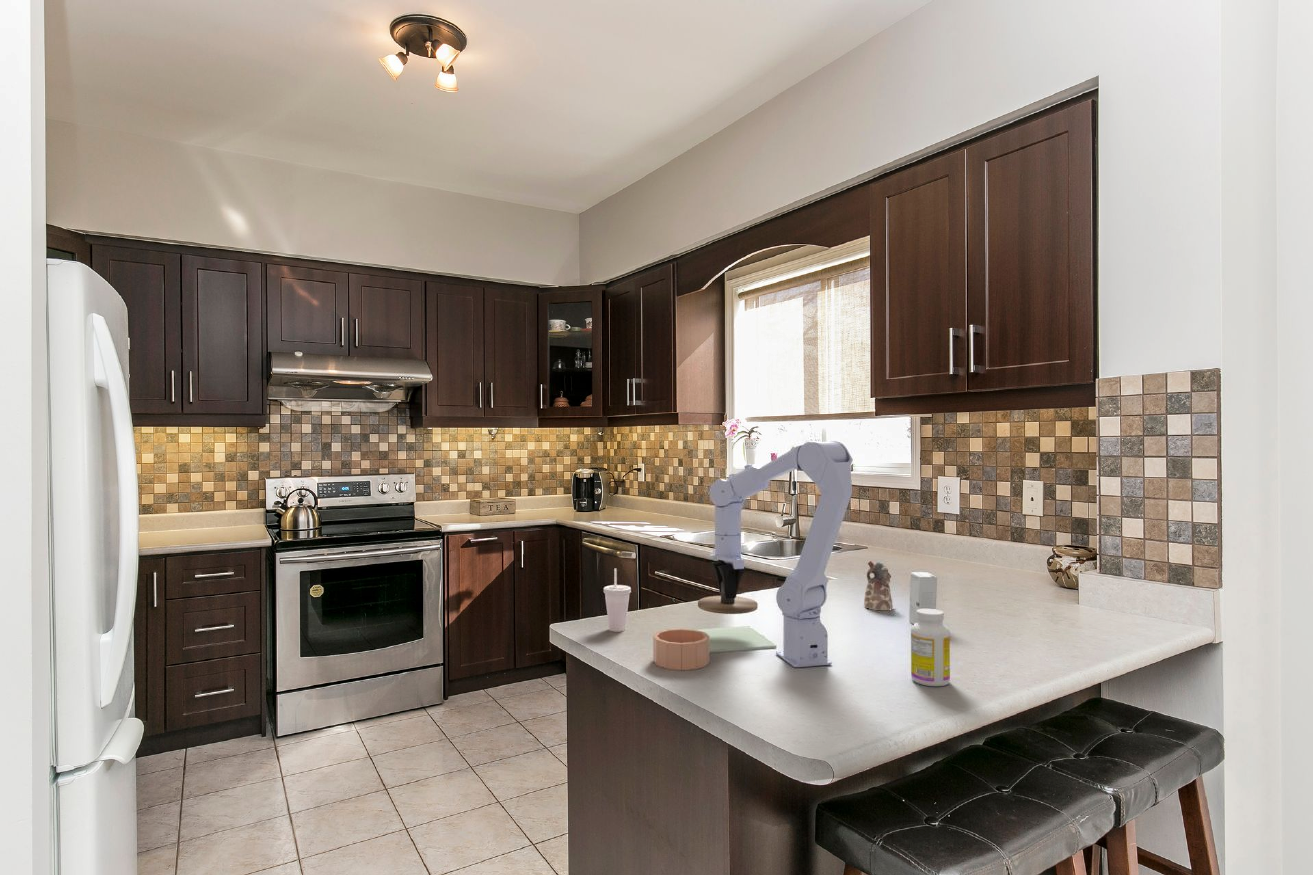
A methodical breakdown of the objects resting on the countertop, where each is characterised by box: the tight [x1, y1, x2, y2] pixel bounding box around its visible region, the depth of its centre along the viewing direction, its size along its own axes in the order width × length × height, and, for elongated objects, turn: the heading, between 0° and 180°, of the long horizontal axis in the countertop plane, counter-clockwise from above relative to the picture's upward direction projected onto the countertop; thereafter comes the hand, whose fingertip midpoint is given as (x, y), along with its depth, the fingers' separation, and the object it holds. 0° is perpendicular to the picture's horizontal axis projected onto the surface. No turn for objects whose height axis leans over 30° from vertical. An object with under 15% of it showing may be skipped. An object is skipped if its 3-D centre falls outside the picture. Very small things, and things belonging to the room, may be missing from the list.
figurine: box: [863, 560, 894, 611], centre depth 189 cm, size 7×7×12 cm
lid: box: [697, 581, 759, 615], centre depth 159 cm, size 13×13×5 cm
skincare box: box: [908, 571, 938, 625], centre depth 172 cm, size 6×4×12 cm
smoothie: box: [603, 568, 632, 633], centre depth 168 cm, size 6×6×14 cm
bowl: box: [652, 628, 710, 671], centre depth 145 cm, size 11×11×5 cm
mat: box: [695, 625, 777, 654], centre depth 160 cm, size 16×16×1 cm
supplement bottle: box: [910, 608, 951, 687], centre depth 133 cm, size 7×7×13 cm
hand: (727, 596), depth 159 cm, fingers closed on lid, 3 cm apart
